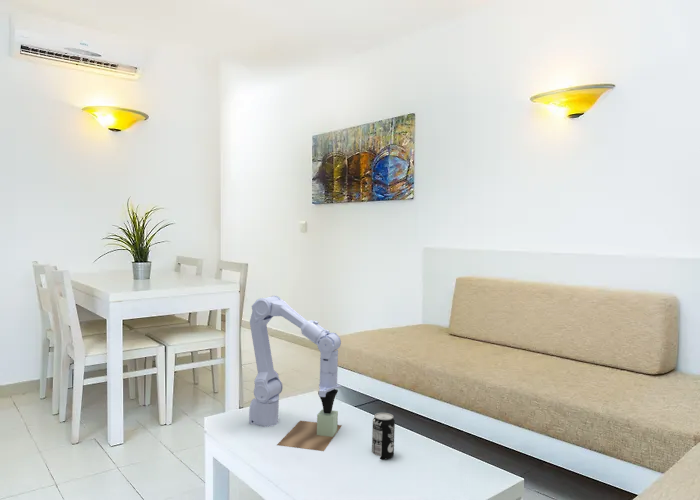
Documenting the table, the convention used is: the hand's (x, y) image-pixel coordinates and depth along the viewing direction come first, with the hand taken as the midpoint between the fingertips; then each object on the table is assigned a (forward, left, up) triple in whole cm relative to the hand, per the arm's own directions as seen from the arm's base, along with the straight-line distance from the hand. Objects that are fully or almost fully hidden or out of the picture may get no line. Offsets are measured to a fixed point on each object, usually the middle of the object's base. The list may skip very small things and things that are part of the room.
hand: (327, 412), depth 168 cm
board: (-4, -3, -8) cm, 10 cm away
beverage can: (+20, -9, -8) cm, 23 cm away
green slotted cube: (0, 0, -7) cm, 7 cm away
